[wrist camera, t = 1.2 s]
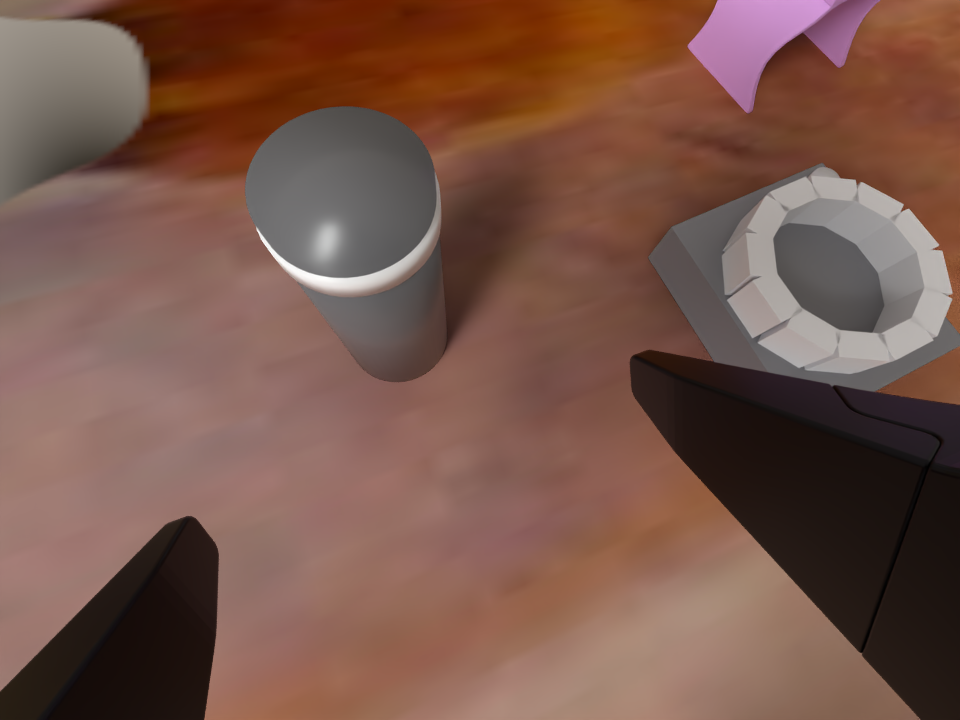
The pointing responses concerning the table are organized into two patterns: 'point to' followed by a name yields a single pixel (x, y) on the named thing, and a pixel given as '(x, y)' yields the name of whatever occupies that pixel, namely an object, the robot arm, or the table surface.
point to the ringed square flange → (812, 282)
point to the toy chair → (771, 37)
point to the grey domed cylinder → (358, 232)
